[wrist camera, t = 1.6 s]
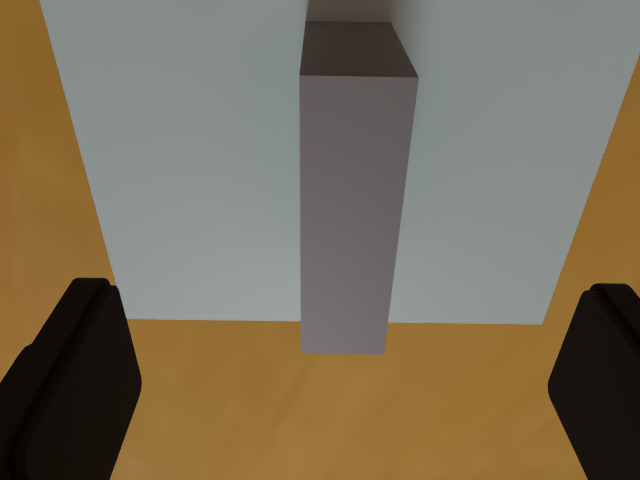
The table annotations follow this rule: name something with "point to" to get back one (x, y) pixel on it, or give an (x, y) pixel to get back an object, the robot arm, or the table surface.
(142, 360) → the table surface
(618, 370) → the robot arm
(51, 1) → the lid
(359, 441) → the table surface
